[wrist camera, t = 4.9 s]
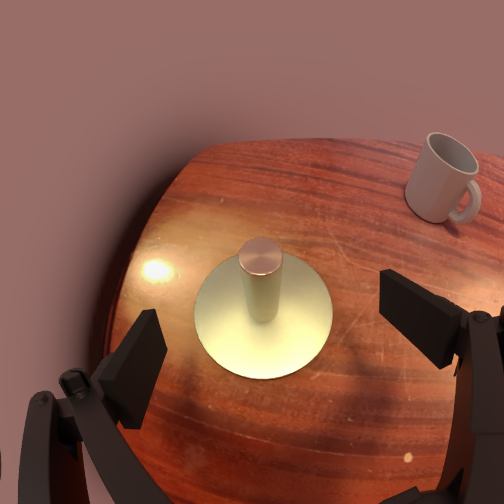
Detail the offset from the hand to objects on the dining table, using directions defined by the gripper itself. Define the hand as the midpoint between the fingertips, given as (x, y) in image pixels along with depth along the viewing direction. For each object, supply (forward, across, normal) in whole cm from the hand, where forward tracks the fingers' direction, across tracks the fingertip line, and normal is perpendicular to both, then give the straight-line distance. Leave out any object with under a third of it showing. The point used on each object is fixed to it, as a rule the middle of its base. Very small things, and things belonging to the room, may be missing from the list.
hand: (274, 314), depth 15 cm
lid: (+9, 0, -4) cm, 10 cm away
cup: (+15, +24, +2) cm, 28 cm away
